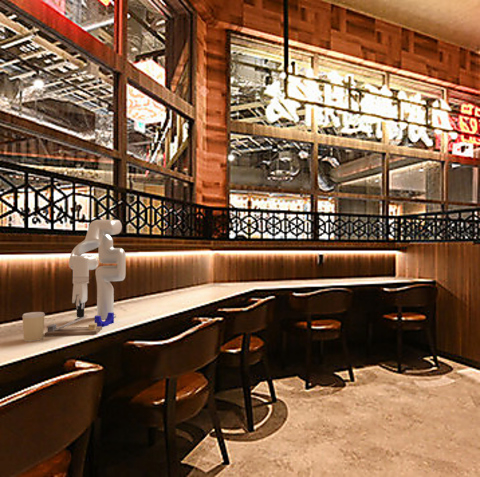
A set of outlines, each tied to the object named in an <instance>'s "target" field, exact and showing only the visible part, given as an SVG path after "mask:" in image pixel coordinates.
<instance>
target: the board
mask: <svg viewBox="0 0 480 477" xmlns="http://www.w3.org/2000/svg"><path fill="white" fill-rule="evenodd" d="M57 326H58V324H49V325H48V326H47V331H46V332H44V337H59V336H61V337H64V336H67V337H68V336H86V335H87V336H89V335H92V336H93V335H97V334H98V333H100V332H101V330H103V327H102V326H97V323H94V322H93V323H92V322H91V323H89V324H88V326H74V327H73V326H70V327H69V326H66V327H64V328H61V329H59V330H57V331H55V329H56V328H58V327H57Z"/></svg>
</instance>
